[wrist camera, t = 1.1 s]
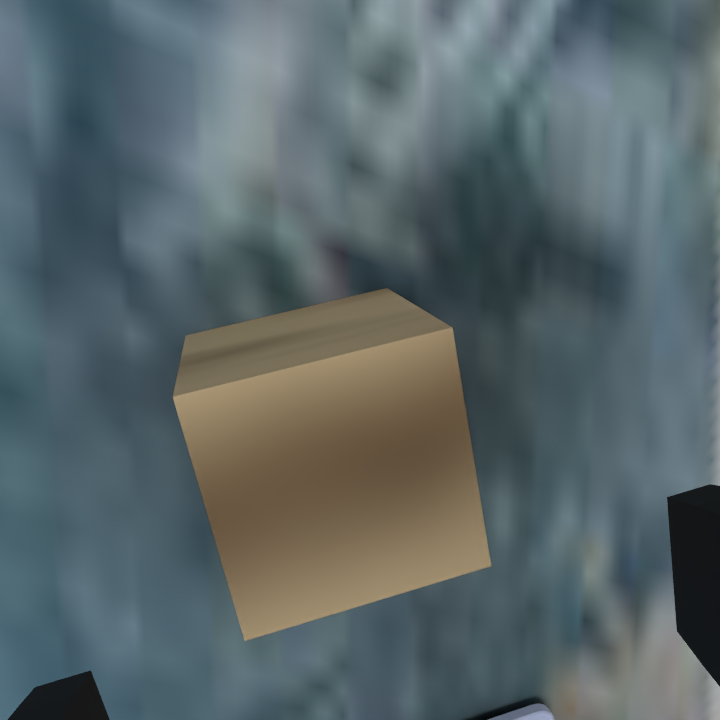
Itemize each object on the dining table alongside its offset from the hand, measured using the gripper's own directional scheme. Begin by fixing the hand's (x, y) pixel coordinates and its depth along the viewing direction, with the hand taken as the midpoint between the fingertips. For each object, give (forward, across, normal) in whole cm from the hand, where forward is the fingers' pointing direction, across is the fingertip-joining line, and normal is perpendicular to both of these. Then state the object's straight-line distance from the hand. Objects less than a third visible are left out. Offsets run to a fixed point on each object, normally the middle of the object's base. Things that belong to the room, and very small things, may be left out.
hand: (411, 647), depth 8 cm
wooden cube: (+10, 0, 0) cm, 10 cm away
